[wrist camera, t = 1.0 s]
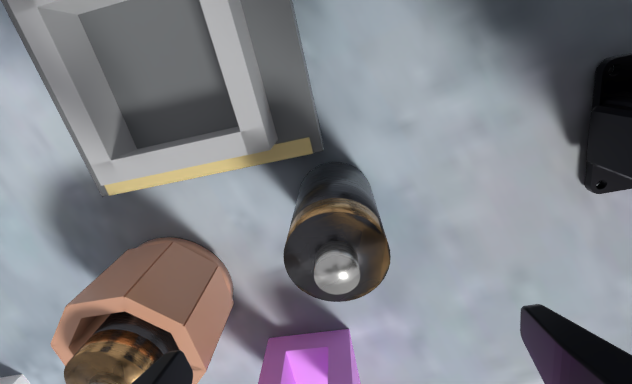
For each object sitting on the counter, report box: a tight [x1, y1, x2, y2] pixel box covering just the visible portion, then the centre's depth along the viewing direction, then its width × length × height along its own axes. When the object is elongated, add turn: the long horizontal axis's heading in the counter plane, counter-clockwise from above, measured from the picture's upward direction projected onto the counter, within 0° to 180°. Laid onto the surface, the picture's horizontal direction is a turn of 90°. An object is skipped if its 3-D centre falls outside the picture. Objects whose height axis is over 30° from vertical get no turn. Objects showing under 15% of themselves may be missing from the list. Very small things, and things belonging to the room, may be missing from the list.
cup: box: [51, 237, 234, 384], centre depth 18 cm, size 7×7×5 cm
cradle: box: [1, 0, 324, 197], centre depth 14 cm, size 12×10×3 cm
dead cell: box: [64, 311, 180, 384], centre depth 16 cm, size 4×4×7 cm
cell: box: [284, 162, 390, 302], centre depth 14 cm, size 4×4×7 cm
